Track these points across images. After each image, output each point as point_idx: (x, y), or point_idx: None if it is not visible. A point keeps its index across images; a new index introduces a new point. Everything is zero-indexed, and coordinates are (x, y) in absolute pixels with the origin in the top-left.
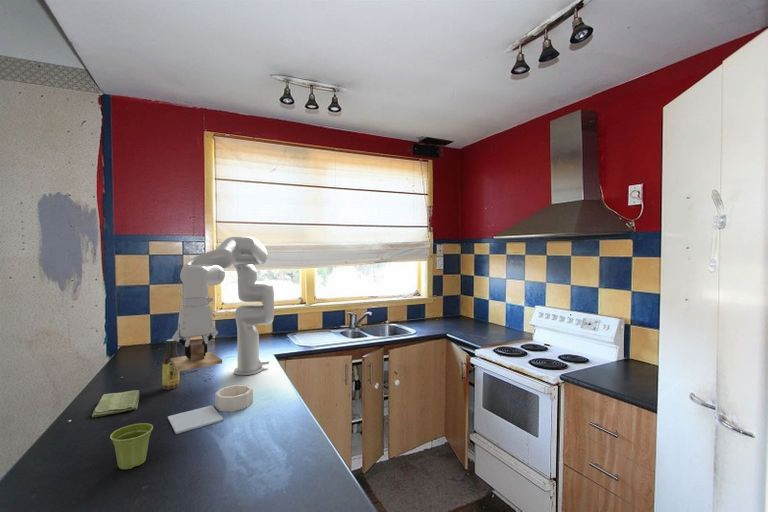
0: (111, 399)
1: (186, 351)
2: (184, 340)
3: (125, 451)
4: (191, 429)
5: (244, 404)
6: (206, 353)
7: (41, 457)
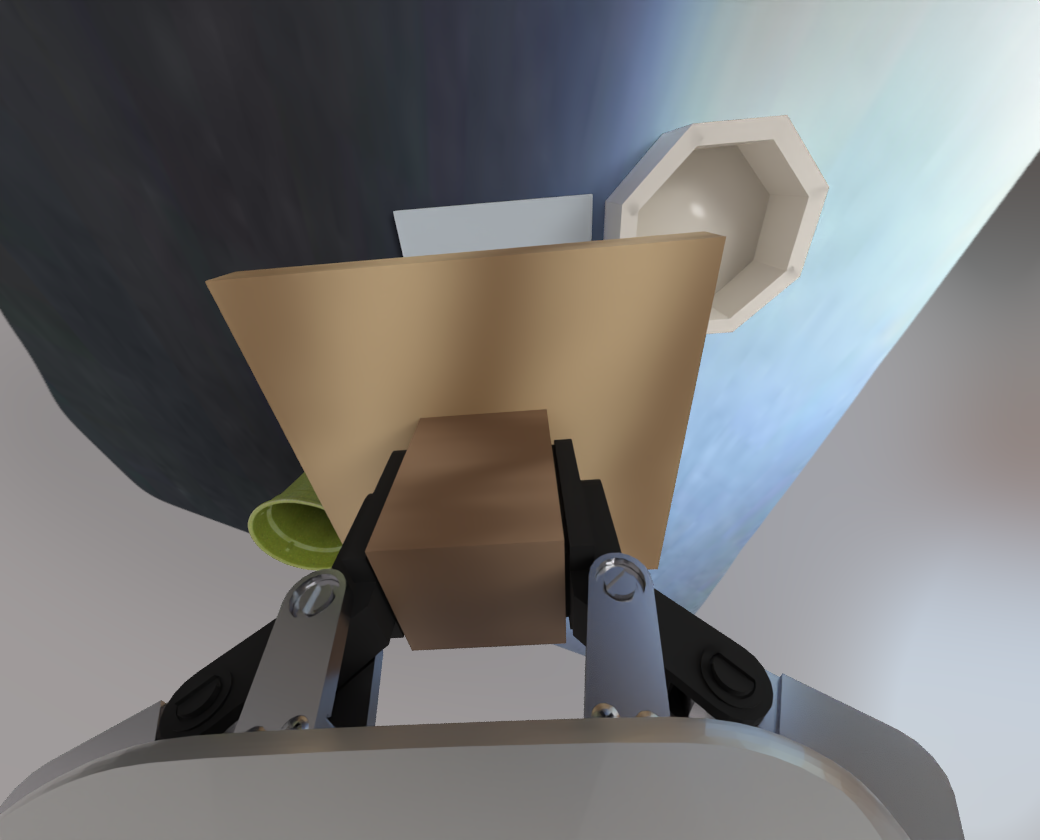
0: None
1: None
2: (279, 674)
3: (317, 532)
4: None
5: None
6: (636, 303)
7: (37, 309)
